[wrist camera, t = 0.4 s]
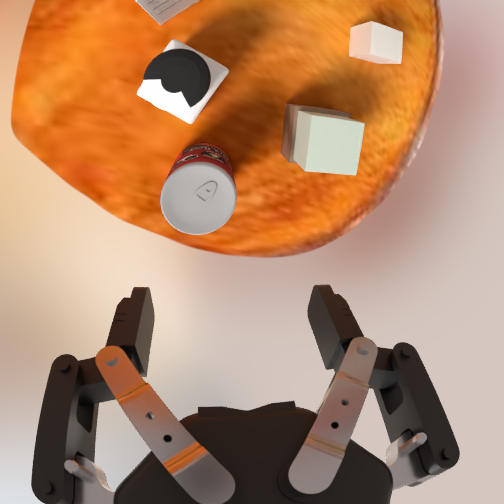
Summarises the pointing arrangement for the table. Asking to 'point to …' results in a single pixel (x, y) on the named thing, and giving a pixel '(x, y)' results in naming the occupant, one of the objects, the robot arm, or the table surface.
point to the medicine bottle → (181, 80)
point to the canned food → (199, 190)
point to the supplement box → (165, 8)
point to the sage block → (328, 143)
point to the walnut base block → (291, 125)
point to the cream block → (376, 43)
